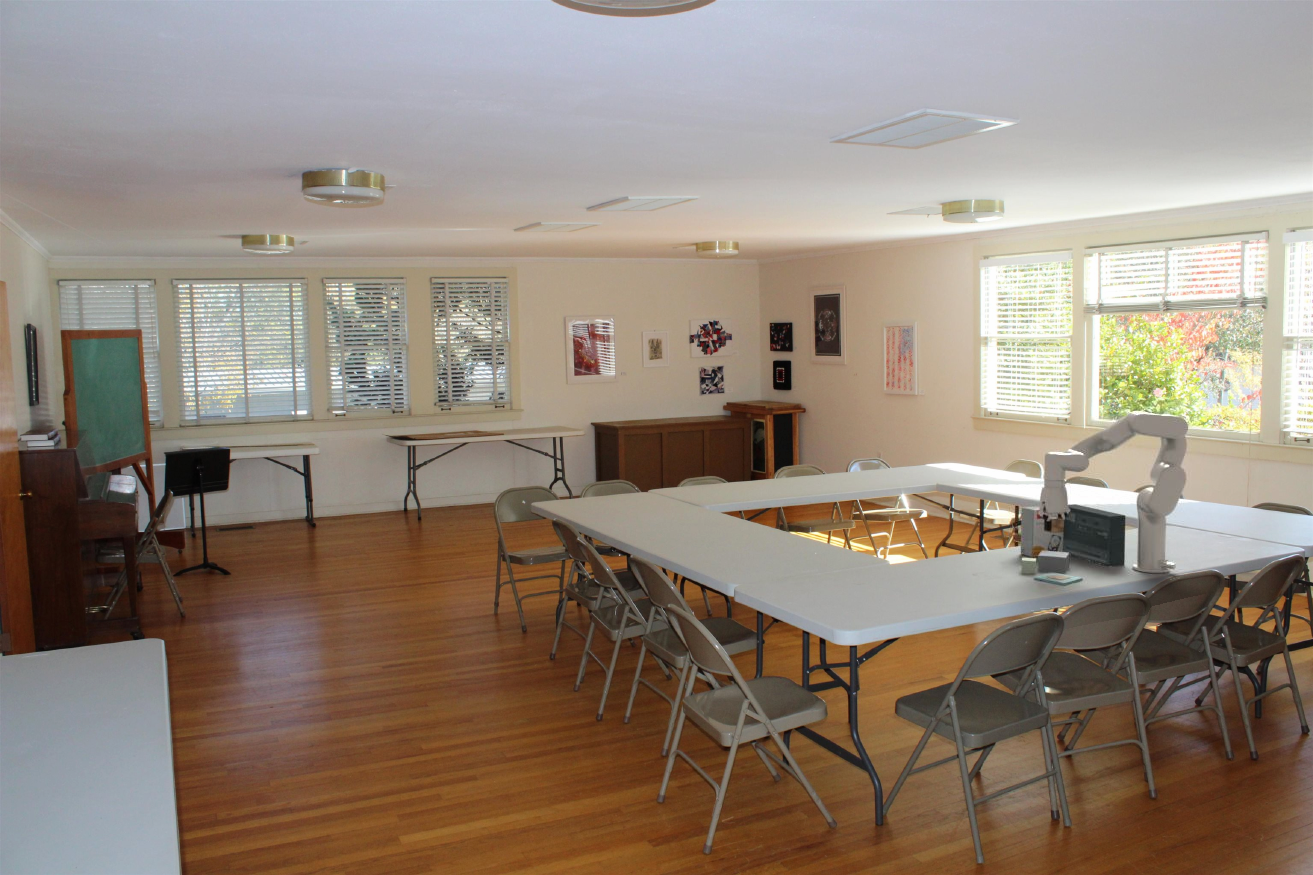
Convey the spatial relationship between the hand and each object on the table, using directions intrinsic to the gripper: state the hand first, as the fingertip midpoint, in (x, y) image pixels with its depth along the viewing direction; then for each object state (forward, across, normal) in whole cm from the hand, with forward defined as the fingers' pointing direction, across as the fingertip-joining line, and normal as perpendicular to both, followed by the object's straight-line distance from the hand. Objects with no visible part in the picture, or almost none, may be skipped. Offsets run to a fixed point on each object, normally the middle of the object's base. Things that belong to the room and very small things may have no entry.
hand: (1053, 529), depth 360 cm
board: (+15, +11, +15) cm, 24 cm away
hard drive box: (+16, -14, -22) cm, 30 cm away
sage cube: (+16, +12, +1) cm, 20 cm away
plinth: (+16, 0, 0) cm, 16 cm away
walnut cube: (+1, 0, 0) cm, 1 cm away
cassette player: (+16, -26, -8) cm, 31 cm away
